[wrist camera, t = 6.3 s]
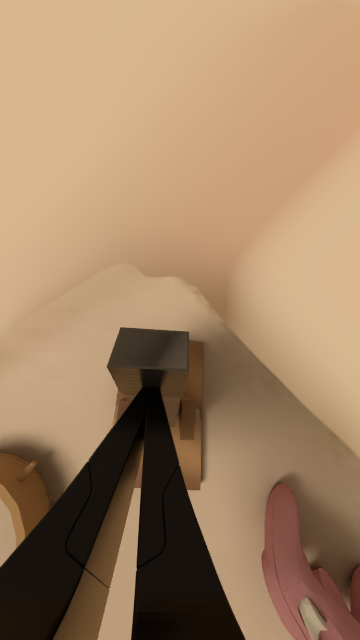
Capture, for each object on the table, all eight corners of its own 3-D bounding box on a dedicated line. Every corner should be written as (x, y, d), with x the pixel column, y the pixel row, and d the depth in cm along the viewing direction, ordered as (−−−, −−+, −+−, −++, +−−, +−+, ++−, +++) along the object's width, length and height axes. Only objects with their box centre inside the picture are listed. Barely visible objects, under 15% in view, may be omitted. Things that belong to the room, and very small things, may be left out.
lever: (175, 428, 14) (189, 371, 7) (137, 426, 14) (106, 366, 7) (176, 403, 16) (188, 331, 8) (142, 401, 16) (120, 327, 8)
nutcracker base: (198, 483, 15) (207, 524, 11) (107, 480, 15) (85, 520, 11) (202, 343, 18) (210, 337, 14) (127, 338, 18) (115, 331, 14)
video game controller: (244, 497, 16) (256, 632, 10) (281, 472, 15) (324, 605, 8) (332, 591, 15) (419, 826, 8) (380, 571, 14) (525, 823, 7)
